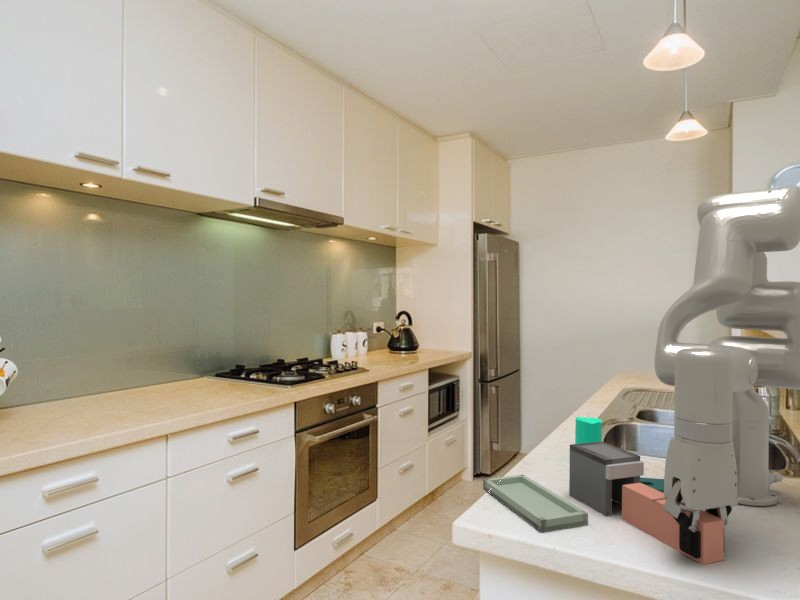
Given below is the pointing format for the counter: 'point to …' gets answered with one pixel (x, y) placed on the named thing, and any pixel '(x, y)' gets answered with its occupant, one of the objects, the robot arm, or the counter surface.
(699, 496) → the robot arm
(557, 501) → the tray
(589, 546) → the counter surface
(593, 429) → the candle
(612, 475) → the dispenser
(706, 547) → the terracotta pink bar
